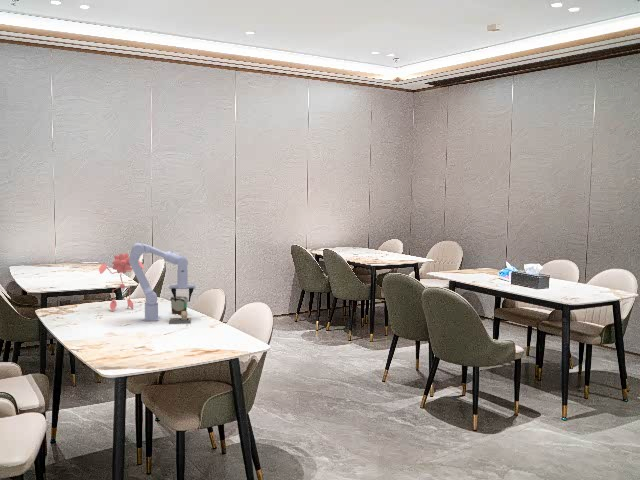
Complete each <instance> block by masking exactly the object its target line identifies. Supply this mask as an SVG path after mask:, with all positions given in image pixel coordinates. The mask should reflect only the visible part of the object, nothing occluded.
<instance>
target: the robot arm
mask: <svg viewBox="0 0 640 480" xmlns="http://www.w3.org/2000/svg"><path fill="white" fill-rule="evenodd" d="M144 254H153V255H155V256H158V257H161V258H163V260H164V261H165V262H168V263H169V264H173V265H176V266H177V270H176V271H177V275H176V276H177V278H176V279H177V281H176V282H177V283H176V284H172V285H170V284H169V287H168V289H169V290H170V291H171V293H172V297H174V299H175V302H176V296H177V290H188V303H190V302H191V298H192V294H193V292H194V290H196V285H195V284H194V285H193V284H188V281H189V280H188V278H189V277H188V271H189V270H188V266H189V262H188V259H187V258H186V257H185V256H184V255H181V254H177V253H174V251H172V250H171V251H163V250H161V249H160V248H157V247H154V246H152V245H149V244H146V243H141V242H135V243H133V245H132V247H131V248H130V254H129V257H130V258H129V263H130V265H131V266H130V267H131V268H132V271H133V272H134V275H135V277H136V279H137V281H138V283H139V286H140V288H141V289H142V291H143V293H144V296H145V302H144V317H143V318H144V319H143V322H154V321H155V322H157V321H159V320H160V316H159V302H158V295H157V293H156V292H155V291H154V289H153V288H152V286H151V285H150V282H149V280H148V279H147V277H146V274H145V272H144V269H143V268H141V266H140V264H139V262H138V261H140V258H141V256H142V255H144Z"/></svg>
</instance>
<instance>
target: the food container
mask: <svg viewBox="0 0 640 480" xmlns="http://www.w3.org/2000/svg"><path fill="white" fill-rule="evenodd" d="M169 298H170V299H169V300H170V304H171V305H170V307H171V314H172V315H176V314H178V315H177V316H181V311H188V310H187V309H188V308H187V307H188V303H189V297H187V296H181V295H178V296H177V295H176V302H175V299H174V296H170V297H169Z"/></svg>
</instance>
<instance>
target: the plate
mask: <svg viewBox="0 0 640 480" xmlns="http://www.w3.org/2000/svg"><path fill="white" fill-rule="evenodd" d="M191 322H192V317H187V320H181V317H170V318H169V320H168V324H169V325H177V324H178V325H181V324H182V325H183V324H185V325H186V324H191Z"/></svg>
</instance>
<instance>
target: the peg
mask: <svg viewBox="0 0 640 480" xmlns="http://www.w3.org/2000/svg"><path fill="white" fill-rule="evenodd" d="M180 316H181V317H180V318H181V320H187V318H188V310H186V311H181V315H180Z"/></svg>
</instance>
